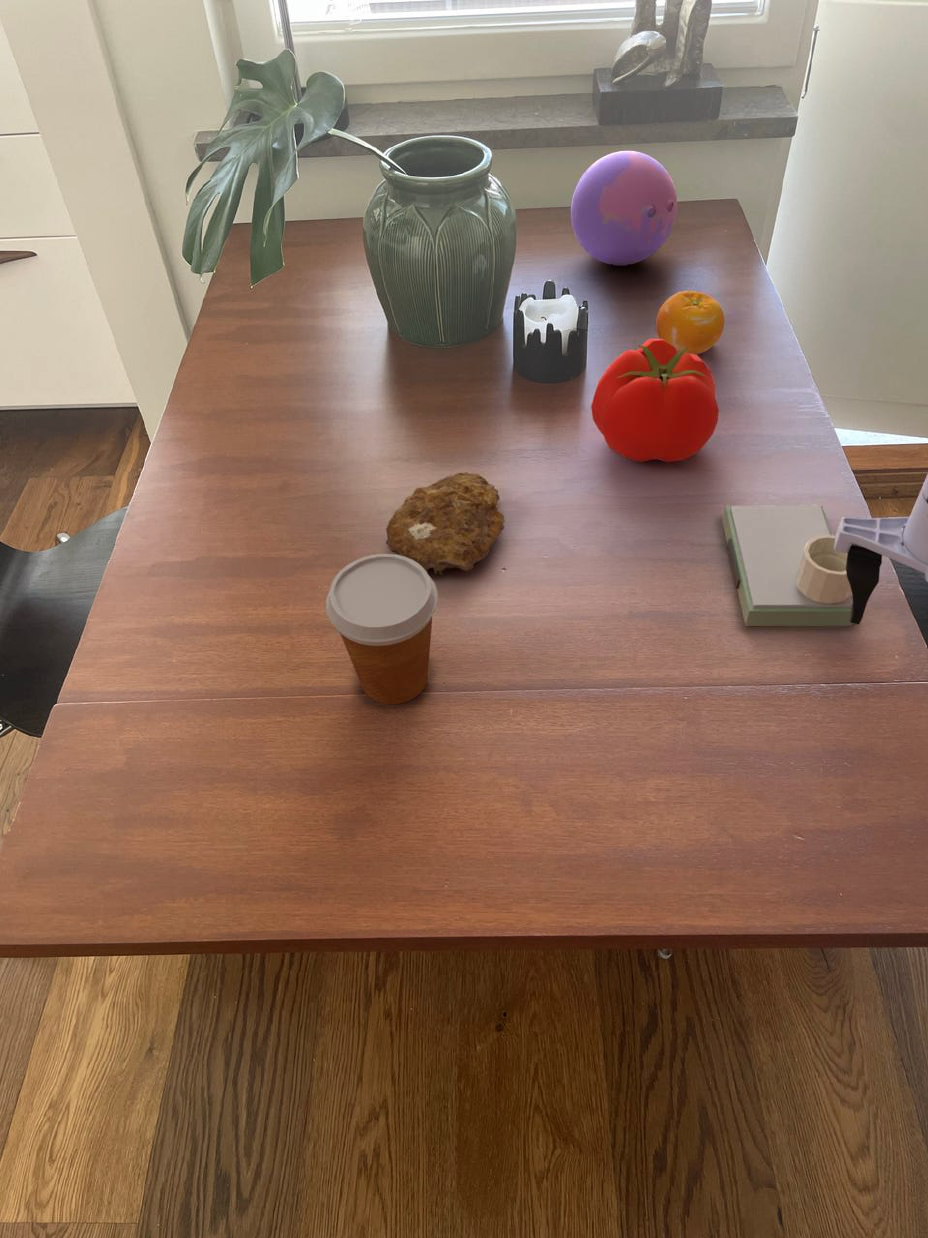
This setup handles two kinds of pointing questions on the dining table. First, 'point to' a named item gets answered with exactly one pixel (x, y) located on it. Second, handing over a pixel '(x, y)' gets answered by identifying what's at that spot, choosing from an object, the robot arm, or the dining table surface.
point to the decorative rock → (447, 523)
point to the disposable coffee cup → (385, 623)
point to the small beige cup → (823, 571)
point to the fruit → (690, 322)
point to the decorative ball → (624, 208)
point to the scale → (777, 564)
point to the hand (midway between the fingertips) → (904, 625)
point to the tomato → (656, 403)
